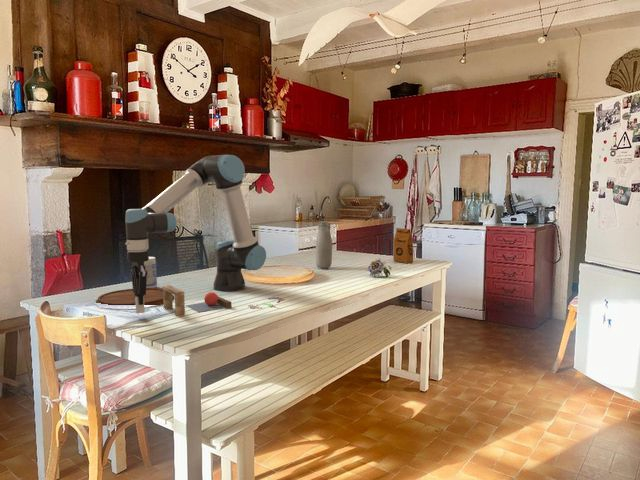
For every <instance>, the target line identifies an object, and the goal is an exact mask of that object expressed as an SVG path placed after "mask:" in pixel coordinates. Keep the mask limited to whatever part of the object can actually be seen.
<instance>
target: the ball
mask: <svg viewBox="0 0 640 480" xmlns="http://www.w3.org/2000/svg"><path fill="white" fill-rule="evenodd" d="M218 297H219V296H218V295H217V293H215V292H213V291H211V292H210V291H209V292H208V293H206V294H205V296H204V302H205V303H206V304H207V305H209V306H213V305H215V304H216V303H217V302H218Z"/></svg>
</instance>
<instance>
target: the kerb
mask: <svg viewBox="0 0 640 480" xmlns="http://www.w3.org/2000/svg"><path fill="white" fill-rule="evenodd" d="M216 304H219V305H221V306H223V307H225V308H224V309H227V310H229V309H232V304H233V303H232V301H230V300H228V299H225V298H223V297H222V296H218V302H217V303H216Z"/></svg>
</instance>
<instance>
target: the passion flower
mask: <svg viewBox="0 0 640 480" xmlns="http://www.w3.org/2000/svg"><path fill="white" fill-rule="evenodd" d="M386 264H387V261H384V262H382V259H381V258H379V259H376V260H374V261H371V263H370V264H369V265H368V268H365V271H367V272H370V274H369V276H371V277H372V278H375V277H376V276H377V277H379V276H380V275H381V276H383V274H382V272H383V273H384V276H385V278H387V279H389V276H391V272H390V271H392V267H391V265H389V266H387V265H386ZM387 268H389V269H387Z"/></svg>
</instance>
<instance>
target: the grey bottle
mask: <svg viewBox="0 0 640 480" xmlns="http://www.w3.org/2000/svg"><path fill="white" fill-rule="evenodd" d="M317 229H318V233H317V236H316V240H315V265H316V267H317V268H319V269H321V270H325V269H326V270H327V269H329V268H330V267H331V266H332V261H333V239H332V235H331V223H330V222H328V221H320V222H318V226H317Z"/></svg>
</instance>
